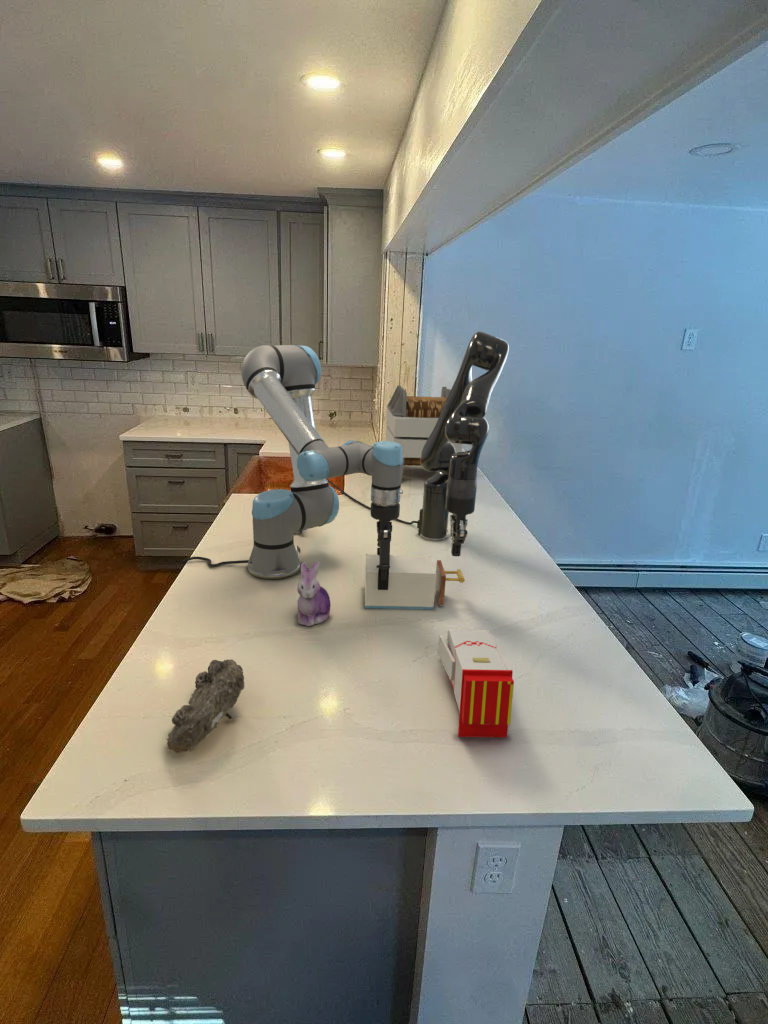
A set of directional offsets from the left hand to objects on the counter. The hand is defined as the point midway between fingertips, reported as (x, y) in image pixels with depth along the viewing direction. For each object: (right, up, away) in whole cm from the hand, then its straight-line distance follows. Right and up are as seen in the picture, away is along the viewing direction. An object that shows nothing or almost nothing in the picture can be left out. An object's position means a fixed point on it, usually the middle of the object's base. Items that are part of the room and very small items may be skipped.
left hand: (382, 579), depth 153 cm
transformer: (+18, +37, +122) cm, 129 cm away
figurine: (-17, -9, -9) cm, 22 cm away
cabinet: (+4, -6, +2) cm, 7 cm away
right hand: (+20, +7, -2) cm, 21 cm away
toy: (+18, -19, -34) cm, 44 cm away
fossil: (-32, -21, -45) cm, 59 cm away
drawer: (+10, -5, +2) cm, 12 cm away
